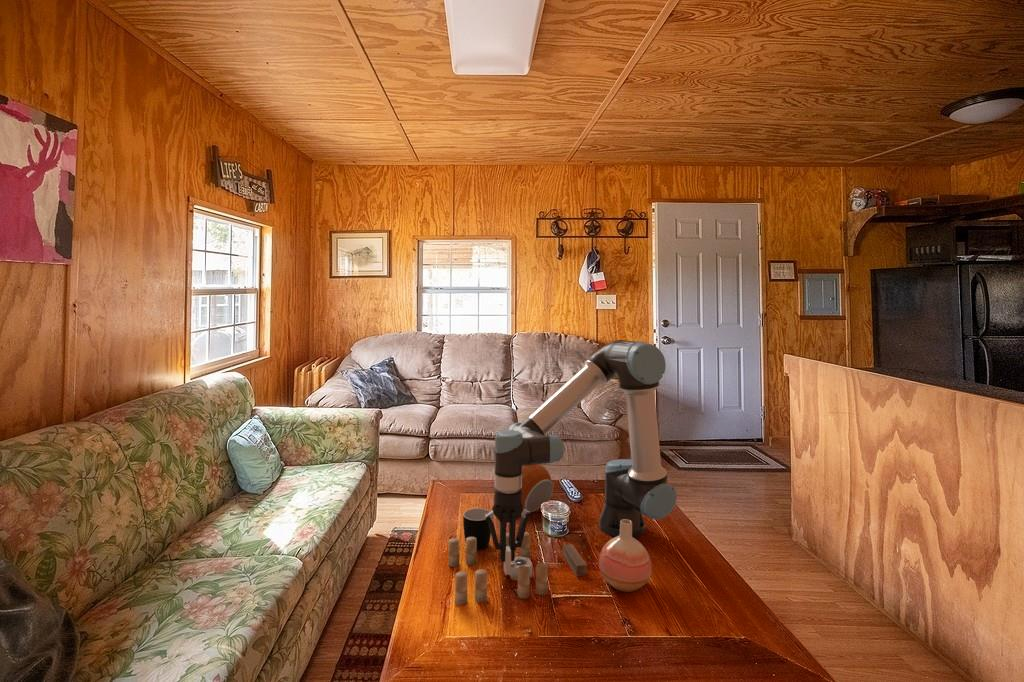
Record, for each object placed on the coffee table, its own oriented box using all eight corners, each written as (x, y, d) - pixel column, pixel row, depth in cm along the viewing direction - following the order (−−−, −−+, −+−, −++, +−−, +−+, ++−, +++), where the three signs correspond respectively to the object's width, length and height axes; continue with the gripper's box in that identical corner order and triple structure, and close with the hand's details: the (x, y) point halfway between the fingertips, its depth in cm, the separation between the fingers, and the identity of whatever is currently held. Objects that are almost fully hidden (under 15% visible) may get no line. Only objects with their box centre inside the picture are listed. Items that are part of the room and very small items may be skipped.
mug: (496, 549, 147) (496, 517, 146) (468, 555, 143) (468, 522, 142) (482, 532, 158) (482, 502, 157) (456, 537, 154) (456, 506, 153)
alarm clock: (528, 492, 193) (529, 450, 192) (561, 506, 180) (562, 461, 179) (492, 505, 180) (492, 460, 179) (524, 521, 167) (525, 472, 166)
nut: (527, 566, 137) (527, 554, 137) (534, 580, 130) (534, 567, 130) (507, 569, 136) (507, 557, 135) (512, 582, 129) (512, 570, 129)
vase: (652, 576, 133) (654, 515, 132) (649, 605, 120) (651, 537, 119) (602, 567, 137) (604, 507, 136) (594, 594, 124) (596, 528, 123)
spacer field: (527, 553, 145) (528, 530, 144) (549, 595, 123) (549, 569, 123) (448, 561, 139) (448, 538, 139) (456, 607, 118) (456, 579, 118)
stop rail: (571, 553, 145) (572, 544, 145) (586, 575, 133) (586, 564, 133) (562, 554, 144) (562, 545, 144) (576, 576, 132) (576, 566, 132)
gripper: (527, 481, 136) (526, 562, 137) (482, 485, 133) (481, 567, 134) (534, 491, 128) (533, 576, 130) (486, 495, 125) (486, 582, 127)
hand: (507, 571), depth 132 cm, fingers closed
